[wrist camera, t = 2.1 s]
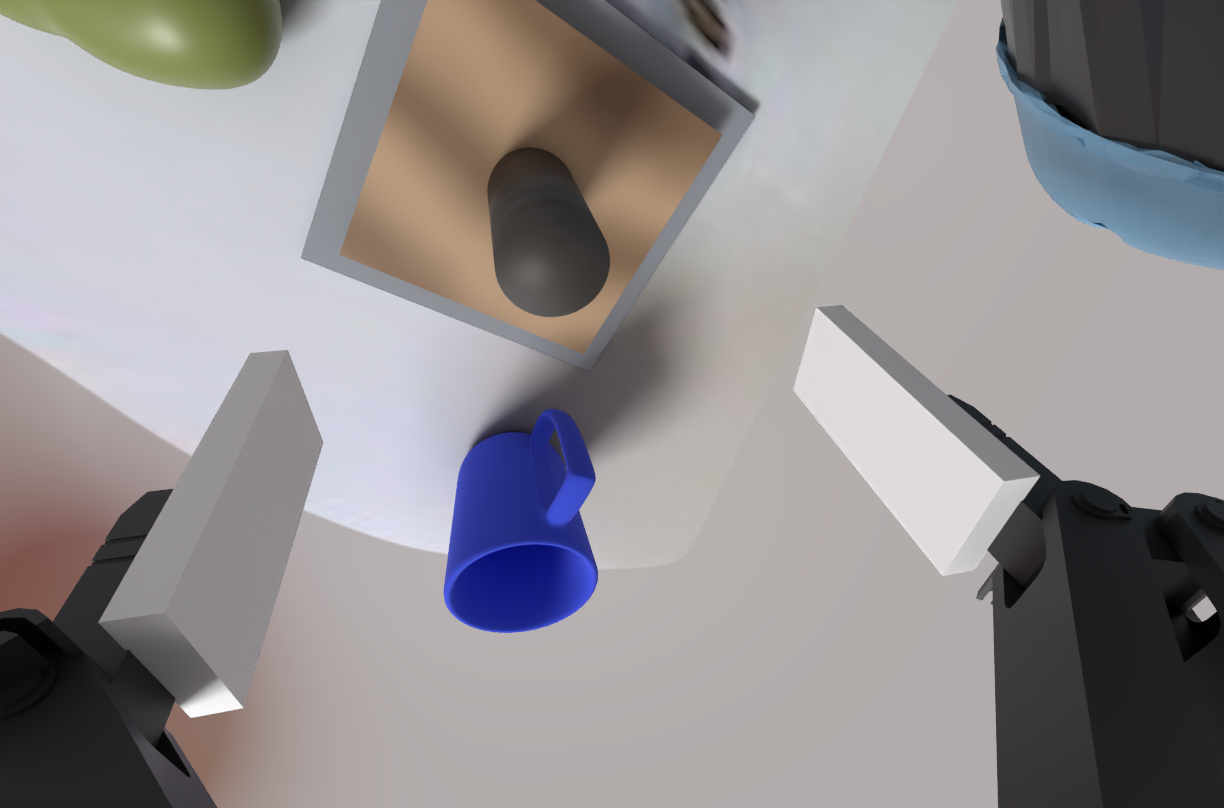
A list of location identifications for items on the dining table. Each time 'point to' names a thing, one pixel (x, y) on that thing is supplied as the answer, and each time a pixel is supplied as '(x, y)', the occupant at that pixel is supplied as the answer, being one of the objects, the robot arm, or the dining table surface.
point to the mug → (521, 530)
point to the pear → (166, 36)
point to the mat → (370, 105)
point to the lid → (522, 169)
